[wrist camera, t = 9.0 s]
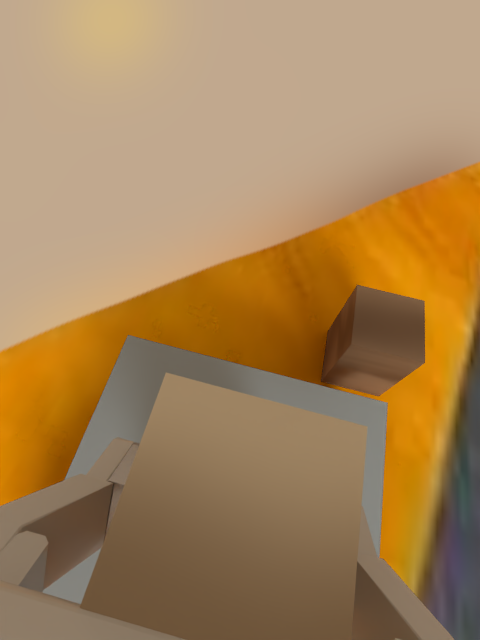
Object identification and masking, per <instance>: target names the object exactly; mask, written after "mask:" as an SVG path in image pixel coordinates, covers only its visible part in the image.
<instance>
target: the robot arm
mask: <svg viewBox="0 0 480 640" xmlns="http://www.w3.org/2000/svg"><path fill="white" fill-rule="evenodd" d="M139 444H140V443H137V442H133V441H130V440H126V439H123V438H119V437H117V438H115V439H113V441H112V442H111V443H110V444H109V446H108V447H107V448H106V450H105V451H104V452H103V454H102V455H101V456H100V457H99V459H98V460H97V461H96V463H95V464H94V465H93V467H92V468H91V469H90V470H89V472H88V473H87V474H86V475H84V474H78V475H76V476H74V477H71V478H69V479H66V480H64V481H61V482H59V483H56V484H54V485H51V486H49V487H46V488H44V489H42V490H39V491H37V492H34V493H32V494H29V495H27V496H24V497H22V498H19V499H17V500H14V501H12V502H9V503H7V504H5V505H2V506H0V640H186V639H182V638H179V637H175V636H172V635H169V634H165V633H162V632H159V631H155V630H152V629H148V628H145V627H142V626H138V625H135V624H131V623H128V622H125V621H121V620H118V619H115V618H111V617H108V616H104V615H101V614H98V613H94V612H91V611H87V610H84V609H81V608H80V605H81V604H79V603H76V602H72V601H69V600H66V599H62V598H59V597H55V596H52V595H49V594H45V593H43V590H44V589H46V588H47V587H48V586H50V585H51V584H53V583H54V582H55V581H57V580H58V579H59V578H61V577H62V576H63V575H65V574H66V573H68V572H69V571H70V570H72V569H73V568H74V567H76V566H77V565H79V564H80V563H81V562H83V561H84V560H85V559H87V558H88V557H89V556H91V555H92V554H94V553H95V552H96V551H98V550H99V549H100V548H102V545H103V542H104V540H105V537H106V534H107V532H108V529H109V526H110V523H111V521H112V518H113V515H114V512H115V510H116V507H117V504H118V502H119V499H120V496H121V493H122V491H123V488H124V485H125V482H126V480H127V477H128V474H129V472H130V469H131V466H132V463H133V461H134V458H135V455H136V453H137V450H138V447H139ZM351 640H454V638H453V637H452V636H451V635H450V634H449V633H448V632H447V631H446V629H445V628H444V627H443V626H442V625H441V624H440V623H439V622H438V620H437V619H436V618H435V617H434V616H433V615H432V614H431V612H430V611H429V610H428V609H427V608H426V607H425V606H424V605H423V603H422V602H421V601H420V600H419V599H418V598H417V597H416V595H415V594H414V593H413V592H412V591H411V590H410V589H409V588H408V586H407V585H406V584H405V583H404V582H403V581H402V580H401V578H400V577H399V576H398V575H397V574H396V573H395V572H394V571H393V569H392V568H391V567H390V566H389V565H388V564H387V563H386V561H385V560H384V559H381V558H378V557H377V554H376V550H375V547H374V543H373V540H372V537H371V533H370V530H369V526H368V523H367V519H366V516H365V512H364V509H363V507H362V506H361V519H360V532H359V545H358V558H357V571H356V584H355V597H354V610H353V623H352V636H351Z"/></svg>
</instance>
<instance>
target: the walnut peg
mask: <svg viewBox="0 0 480 640" xmlns="http://www.w3.org/2000/svg"><path fill="white" fill-rule="evenodd" d="M424 363H425V313H424V301H422V300H418V299H414V298H410V297H406V296H401V295H397V294H393V293H389V292H385V291H381V290H376V289H372V288H368V287H364V286H360V285H357V286H356V288H355V289H354V291H353V293H352V294H351V296H350V297H349V299H348V300H347V302H346V303H345V305H344V307H343V308H342V310H341V311H340V313H339V314H338V316H337V318H336V319H335V321H334V322H333V324H332V325H331V327H330V329H329V330H328V334H327V341H326V349H325V356H324V363H323V370H322V378H321V382H324V383H328V384H332V385H336V386H340V387H344V388H348V389H352V390H356V391H360V392H364V393H368V394H372V395H376V396H380V395H381V394H382V393H384V392H385V391H386V390H388V389H389V388H391V387H392V386H393V385H395V384H396V383H397V382H399V381H400V380H402V379H403V378H404V377H406V376H407V375H408V374H410V373H411V372H413V371H414V370H415V369H417V368H418V367H419V366H421V365H422V364H424Z"/></svg>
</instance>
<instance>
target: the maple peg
mask: <svg viewBox="0 0 480 640" xmlns="http://www.w3.org/2000/svg"><path fill="white" fill-rule="evenodd" d="M367 428H368V427H367V426H364V425H360V424H356V423H353V422H349V421H345V420H341V419H338V418H334V417H330V416H326V415H323V414H319V413H315V412H312V411H308V410H304V409H300V408H297V407H293V406H289V405H285V404H282V403H278V402H274V401H271V400H267V399H263V398H259V397H256V396H252V395H248V394H244V393H241V392H237V391H233V390H230V389H226V388H222V387H218V386H215V385H211V384H207V383H203V382H200V381H196V380H192V379H189V378H185V377H181V376H177V375H174V374H170V373H166V374H165V376H164V379H163V382H162V384H161V387H160V390H159V393H158V395H157V398H156V401H155V404H154V406H153V409H152V412H151V414H150V417H149V420H148V423H147V425H146V428H145V431H144V433H143V436H142V439H141V442H140V444H139V447H138V450H137V453H136V455H135V458H134V461H133V463H132V466H131V469H130V472H129V474H128V477H127V480H126V482H125V485H124V488H123V491H122V493H121V496H120V499H119V502H118V504H117V507H116V510H115V512H114V515H113V518H112V521H111V523H110V526H109V529H108V532H107V534H106V537H105V540H104V542H103V545H102V548H101V551H100V553H99V556H98V559H97V561H96V564H95V567H94V570H93V572H92V575H91V578H90V581H89V583H88V586H87V589H86V591H85V594H84V597H83V600H82V602H81V605H80V608H81V609H84V610H87V611H91V612H94V613H98V614H101V615H104V616H108V617H111V618H115V619H118V620H121V621H125V622H128V623H131V624H135V625H138V626H142V627H145V628H148V629H152V630H155V631H159V632H162V633H165V634H169V635H172V636H175V637H179V638H182V639H186V640H351V636H352V623H353V610H354V597H355V584H356V571H357V558H358V545H359V532H360V519H361V506H362V493H363V480H364V467H365V454H366V441H367Z"/></svg>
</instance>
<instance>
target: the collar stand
mask: <svg viewBox="0 0 480 640" xmlns="http://www.w3.org/2000/svg"><path fill="white" fill-rule="evenodd" d="M166 373H170V374H174V375H177V376H181V377H185V378H189V379H192V380H196V381H200V382H203V383H207V384H211V385H215V386H218V387H222V388H226V389H230V390H233V391H237V392H241V393H244V394H248V395H252V396H256V397H259V398H263V399H267V400H271V401H274V402H278V403H282V404H285V405H289V406H293V407H297V408H300V409H304V410H308V411H312V412H315V413H319V414H323V415H326V416H330V417H334V418H338V419H341V420H345V421H349V422H353V423H356V424H360V425H364V426H367V427H368V428H367V441H366V454H365V467H364V480H363V493H362V507H363V509H364V512H365V516H366V519H367V523H368V526H369V530H370V533H371V537H372V540H373V543H374V547H375V550H376V554H377V557H378V558H379V554H380V535H381V516H382V498H383V479H384V460H385V441H386V422H387V404H388V403H386V402H382V401H378V400H374V399H370V398H367V397H363V396H359V395H355V394H351V393H348V392H344V391H340V390H336V389H332V388H328V387H325V386H321V385H317V384H313V383H309V382H306V381H302V380H298V379H294V378H290V377H286V376H283V375H279V374H275V373H271V372H267V371H264V370H260V369H256V368H252V367H248V366H244V365H241V364H237V363H233V362H229V361H225V360H222V359H218V358H214V357H210V356H206V355H202V354H199V353H195V352H191V351H187V350H183V349H180V348H176V347H172V346H168V345H164V344H160V343H157V342H153V341H149V340H145V339H141V338H138V337H134V336H130V335H128V336H127V339H126V341H125V343H124V345H123V348H122V350H121V352H120V355H119V357H118V359H117V361H116V364H115V366H114V368H113V370H112V373H111V375H110V377H109V379H108V382H107V384H106V386H105V389H104V391H103V393H102V395H101V398H100V400H99V402H98V404H97V407H96V409H95V411H94V413H93V416H92V418H91V420H90V423H89V425H88V427H87V429H86V432H85V434H84V436H83V438H82V441H81V443H80V445H79V448H78V450H77V452H76V454H75V457H74V459H73V461H72V463H71V466H70V468H69V470H68V472H67V475H66V477H65V479H64V480H66V479H69V478H71V477H74V476H76V475H78V474H84V475H86V474H87V473H88V472H89V470H90V469H91V468H92V467H93V465H94V464H95V463H96V461H97V460H98V459H99V457H100V456H101V455H102V454H103V452H104V451H105V450H106V448H107V447H108V446H109V444H110V443H111V442H112V441H113V439H115V438H117V437H119V438H123V439H126V440H130V441H133V442H137V443H140V442H141V439H142V436H143V433H144V431H145V428H146V425H147V423H148V420H149V417H150V414H151V412H152V409H153V406H154V404H155V401H156V398H157V395H158V393H159V390H160V387H161V384H162V382H163V379H164V376H165V374H166ZM100 551H101V548H100V549H99V550H98V551H96V552H95V553H94V554H92V555H91V556H89V557H88V558H87V559H85V560H84V561H83V562H81V563H80V564H79V565H77V566H76V567H74V568H73V569H72V570H70V571H69V572H68V573H66V574H65V575H63V576H62V577H61V578H59V579H58V580H57V581H55V582H54V583H53V584H51V585H50V586H48V587H47V588H46V589H44V590H43V593H45V594H49V595H52V596H55V597H59V598H62V599H66V600H69V601H72V602H76V603H79V604H81V602H82V600H83V597H84V594H85V591H86V589H87V586H88V583H89V581H90V578H91V575H92V572H93V570H94V567H95V564H96V561H97V559H98V556H99V553H100Z"/></svg>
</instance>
